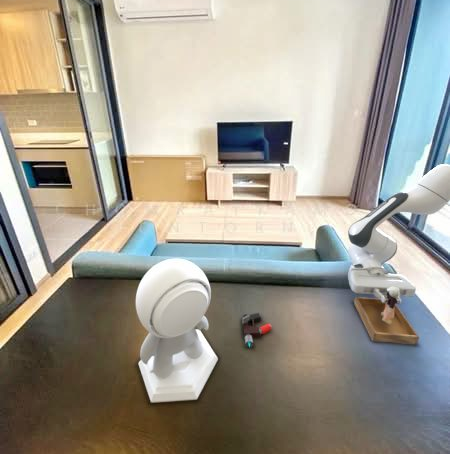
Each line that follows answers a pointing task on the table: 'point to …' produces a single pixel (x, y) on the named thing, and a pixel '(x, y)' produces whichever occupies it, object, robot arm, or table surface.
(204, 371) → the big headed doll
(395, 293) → the grandmother figurine
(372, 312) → the shallow wooden tray
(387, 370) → the table surface
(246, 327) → the toy gun
